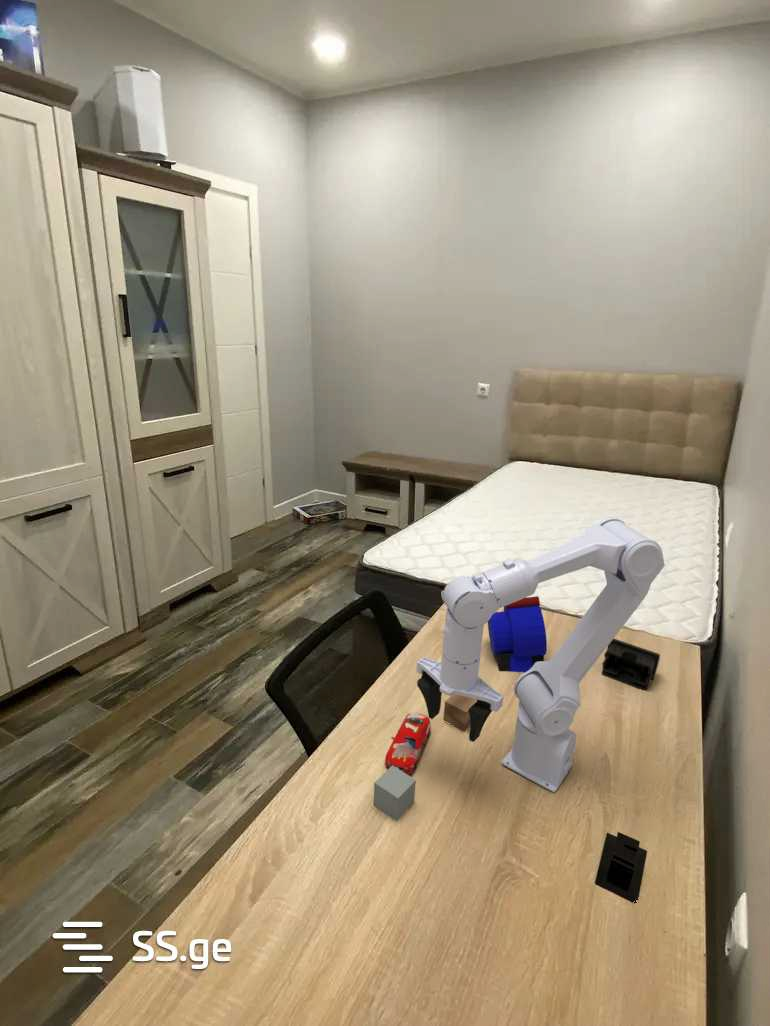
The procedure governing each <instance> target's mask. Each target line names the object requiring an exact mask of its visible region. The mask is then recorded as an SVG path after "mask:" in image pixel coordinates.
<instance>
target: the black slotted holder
mask: <svg viewBox="0 0 770 1026" xmlns="http://www.w3.org/2000/svg"><path fill="white" fill-rule="evenodd" d="M606 649H607V650H606V651H605V653H604V654H603V656H604V661H603V662H602V671H601V676H604V677H607V678H609V679H611V680H614V681H616V682H619V683H622V684H625V685H627V686H630V687H633V688H635V689H637V690H640V689H641V690H640V691H643V690H644V691H643V692H645V690H646V691H647V689H648V688H649V685H650V683H651V682H652V681H653V680H654V679H655V676H656V673H657V670H658V666H659V663H660V660H661V658H660V657H661V654H660V653H658V652H654V651H652V650H650V649H646V648H643V647H640V646H636V645H634V644H632V643H629V642H625V641H622V640H619V639H617V638H614V639H613V640H612V641H611V642H610V644H609V645H608V646H607V648H606ZM647 687H648V688H647Z"/></svg>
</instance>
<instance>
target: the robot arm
mask: <svg viewBox="0 0 770 1026" xmlns="http://www.w3.org/2000/svg"><path fill="white" fill-rule="evenodd" d="M665 566H666V565H665V559H664V554H663V550H662V548H661V546H660V544H659V543H658V542H657V541H656V540H653V539H651V538H648V537H647V536H645V535H644V534H642V533H640V532H639V531H637V530H636V529H634V528H632V527H630V526H629V525H627V524H626V523H625V522H624V521H623V520H622V519H619V518H615V517H609V518H606V519H603V520H602V521H600V522H598V523H594V524H591V525H589V526H588V528H587V529H586V530H585V532H583V534H582V535H580V536H578V537H576V538H573V539H571V540H570V541H567V542H566V543H564V544H561V545H559V546H557V547H555V548H554V549H551V550H549V551H548V552H546V553H543V554H542V555H539V556H538V557H536V558H533V559H531V560H530V561H527V560H524V559H521V558H514V559H512V558H511V557H510V558H509V557H508V558H505V560H503V561H502V564H499V565H497V566H495V567H492V568H490V569H488V570H485V571H483V572H476V573H474V574H473V575H472V577H471V576H469V575H467V576H466V575H459V576H456V577H454V578H452V579H451V580H450V581H448V583H447V584H446V585H445V587H444V590H442V591H441V592H440V593H441V596H440V597H441V599H442V602H443V603H444V605H446V607H447V608H446V610H445V611H446V612H445V622H444V628H443V639H442V640H443V641H442V652H441V661H438V660H435V659H434V660H433V659H430V658H427V657H425V656H424V657H422V658H421V659H419V660H418V661H417V662H416V673H418V674H419V675H421V677H420V678H418V680H417V683H416V686H417V688H418V689H419V691H420V692H421V695H422V696H423V699H424V702H425V706H426V710H427V714H428V715H427V716H428V718H429V719H430V720H434V718H435V717H436V716H438V715H439V714H440V711H441V706H442V696H443V695H442V694H444V695H446V696H448V697H450V696H451V695H453V694H457V695H461V696H465V697H469V698H473V699H477V702H476V703H474V704H473V705H472V706H471V707H470V708H469V715H470V727H469V733H468V741H470V742H472V743H474V742H476V740H477V739H478V738H479V737H480V735H481V732H482V731H483V727H484V725H485V723H486V721H487V720H488V718H489V716H490V715H491V714H492V712H494V713H497V712H498V711H499V710H501V708H502V707H503V704H504V698H505V695H504V694H501V693H500V692H498V690H497V691H496V690H495V689H494V688H493V687H492V686H490V685H489V684H488V683H487V682H486V681H484V680H483V678H481V677H480V676H479V670H480V663H481V652H482V643H483V637H484V636H483V635H484V627H485V626H484V625H485V624H488V620H489V619H490V618H491V616H492V615H493V614H494V613H496V612H498V610H500V609H502V608H504V606H506V605H509V604H511V603H514V602H516V601H518V600H521V599H523V598H527V597H531V596H533V595H534V594H535V592H536V590H537V588H538V586H539V584H540V583H543V582H546V581H550V580H551V579H552V580H553V579H554V578H558V577H561V576H564V575H567V574H569V573H570V574H571V573H572V572H576V571H578V570H579V571H580V570H582V569H584V568H588V567H592V568H594V569H599V570H600V571H603V572H604V575H605V581H606V585H605V587H604V588H603V589H602V590H601V592H600V593H599V594H598V596H597V597H596V598H595V600H594V601H593V602H592V603H591V605H590V606H589V607H588V609H587V611H586V612H585V613H584V615H582V617H581V618H580V620H579V621H578V623H577V624H576V625H575V626H574V628H573V629H572V630H571V631H570V632H569V634H568V636H567V637H566V638H565V640H564V641H563V643H562V644H561V645H560V647H559V648H558V649H557V651H556V652H555V653H554V655H553V656H552V657H551V658H550V660H547V661H546V660H544V661H540V662H536V663H535V664H534V665H533V667H532V668H531V669H530V670H528V671H527V672H523V673H522V674H521V675H520V676H519V677H518V678H517V679H516V681H515V682H514V685H513V686H514V687H513V692H514V695H515V697H516V698H517V699H518V700H519V702H518V709H517V710H518V711H517V717H516V723H515V731H514V735H513V736H514V737H513V742H512V744H513V745H512V747H511V749H510V751H509V752H508V753H507V754H506V755H505V756H504V757H503V759H502V760H501V764H502V765H503V766H505V767H506V768H509V769H510V770H511V771H514V773H517V774H519V775H521V776H523V777H524V778H527V779H528V780H529V781H532V782H533V783H535V784H537V785H539V786H540V787H543V788H545V789H546V790H548V791H550V792H552V793H555V792H557V790H558V788H559V787H560V785H561V783H563V780H565V777H566V776H567V775H568V774H569V771H570V770H571V768H572V767H573V757H574V753H575V747H576V743H577V733H575V732H574V731H573V730H571V729H570V727H571V726H572V725H573V722H574V718H575V715H576V712H577V711H578V709H579V708H580V707H581V703H582V699H581V692H580V682H582V680H583V679H584V678H585V676H586V675H587V674H588V673H589V671H590V670H591V668H593V666H594V665H595V663H596V662H597V661H598V659H599V658H600V656H602V654H603V653H604V651H605V650H606V649H607V648H608V645H609V644H610V642H611V641H612V640H613V639H615V637H616V636H617V634H618V633H619V632H620V631H621V629H622V628H623V627H624V626H625V624H627V622H628V620H629V619H630V618H631V617H632V615H634V612H635V611H636V610H637V609H638V608H639V606H640V604H642V602H643V601H644V600H645V598H646V596H648V593H649V591H650V588H651V585H652V583H653V582H654V580H655V579H656V578H657V577H658V576H659V574H660V573H661V572H662V570H663V569H664V568H665Z"/></svg>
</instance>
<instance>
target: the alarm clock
mask: <svg viewBox="0 0 770 1026" xmlns="http://www.w3.org/2000/svg"><path fill="white" fill-rule="evenodd" d="M539 597H540V596H537V595H536V596H528V597H526V598H523V599H521V600H518V601H516V602H514V603H511V604H509V605H506V606H504V607H503V611H497V612H496V613H494V614H493V615H492V616H491V618H490V619H489V620H488V622H487V630H488V637H489V642H490V647H491V652H492V654H493V655H496V658H497V667H498V671H499V672H505V673H506V672H507V673H508V672H509V673H511V672H512V673H514V672H515V673H525V672H527V671H528V670H530V669H531V668H532V667H533V665H534V664H535V663H536V662H540V661H545V655H547V649H548V648H547V647H548V646H547V643H548V642H547V640H548V639H547V632H546V625H545V620H544V615H543V612H542V609H541V606H540V605H541V603H540V598H539Z"/></svg>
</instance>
